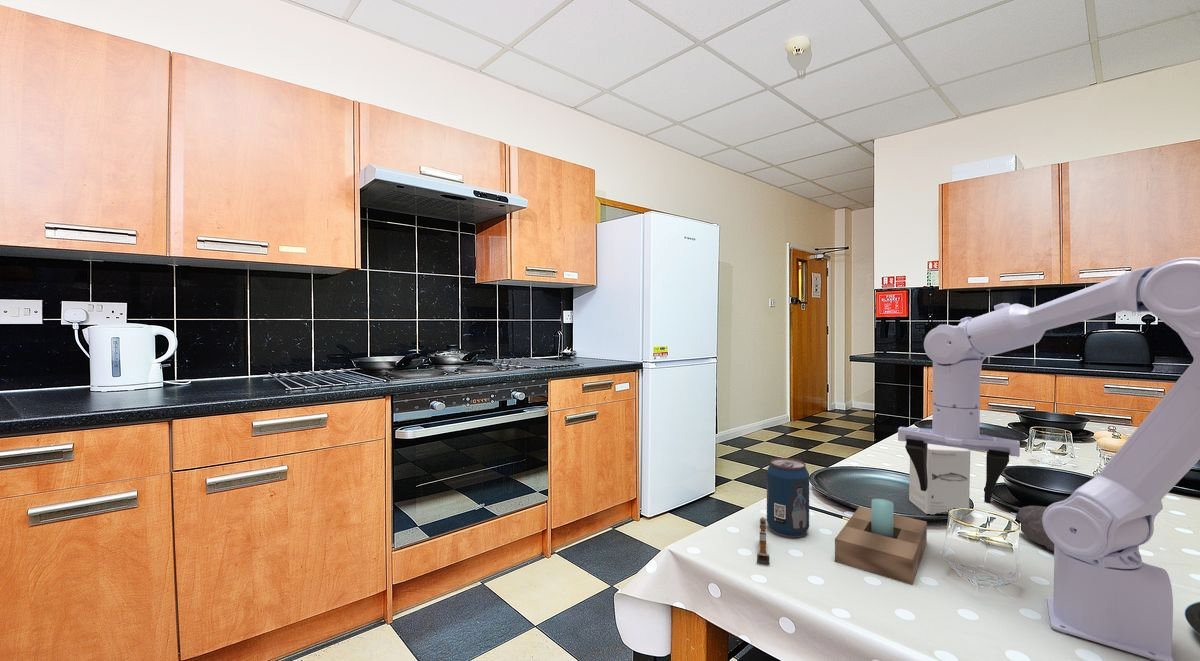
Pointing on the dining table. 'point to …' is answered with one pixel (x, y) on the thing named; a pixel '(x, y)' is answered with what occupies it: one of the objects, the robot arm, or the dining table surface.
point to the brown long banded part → (763, 543)
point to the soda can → (788, 497)
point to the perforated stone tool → (1034, 525)
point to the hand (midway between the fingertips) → (954, 494)
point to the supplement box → (942, 480)
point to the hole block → (882, 546)
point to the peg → (882, 517)
